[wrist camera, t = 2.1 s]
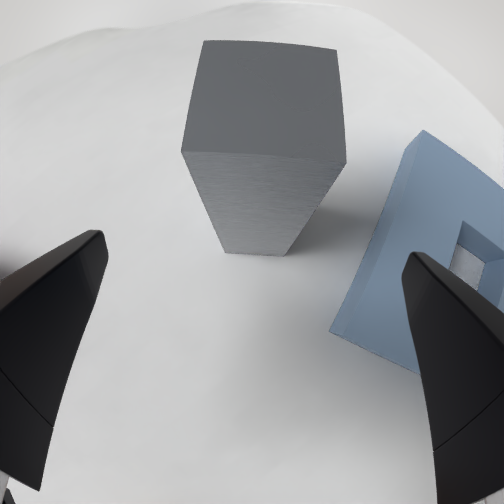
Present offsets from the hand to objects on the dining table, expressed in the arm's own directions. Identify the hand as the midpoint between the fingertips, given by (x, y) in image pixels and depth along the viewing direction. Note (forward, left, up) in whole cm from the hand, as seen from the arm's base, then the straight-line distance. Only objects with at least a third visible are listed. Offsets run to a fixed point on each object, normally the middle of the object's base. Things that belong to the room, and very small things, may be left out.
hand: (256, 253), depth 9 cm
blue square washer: (-6, -13, -10) cm, 17 cm away
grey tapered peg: (+3, -2, -10) cm, 11 cm away
